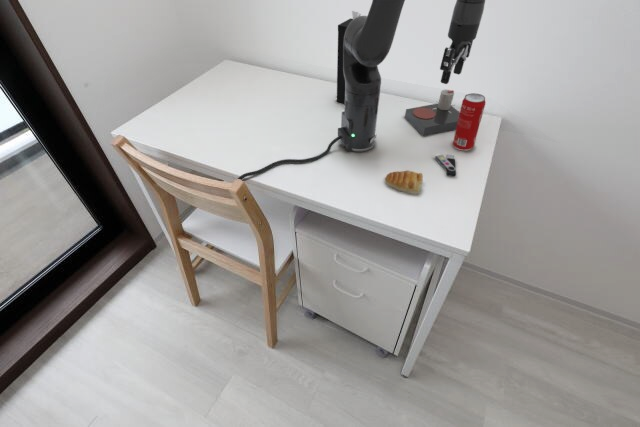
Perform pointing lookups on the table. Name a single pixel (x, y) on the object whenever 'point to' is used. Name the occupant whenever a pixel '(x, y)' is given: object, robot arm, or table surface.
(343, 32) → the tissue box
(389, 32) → the robot arm
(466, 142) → the beverage can
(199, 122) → the table surface
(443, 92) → the hob knob
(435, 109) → the hob
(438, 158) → the usb flash drive
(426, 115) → the burner
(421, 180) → the pastry
